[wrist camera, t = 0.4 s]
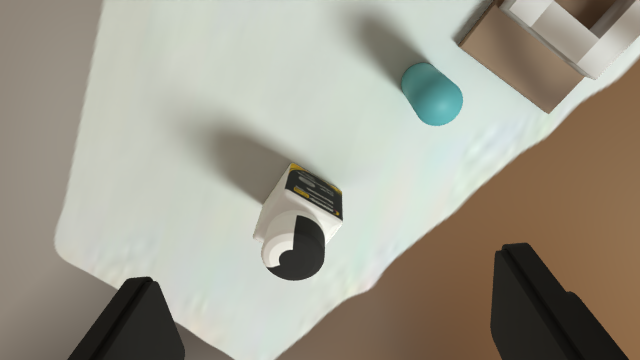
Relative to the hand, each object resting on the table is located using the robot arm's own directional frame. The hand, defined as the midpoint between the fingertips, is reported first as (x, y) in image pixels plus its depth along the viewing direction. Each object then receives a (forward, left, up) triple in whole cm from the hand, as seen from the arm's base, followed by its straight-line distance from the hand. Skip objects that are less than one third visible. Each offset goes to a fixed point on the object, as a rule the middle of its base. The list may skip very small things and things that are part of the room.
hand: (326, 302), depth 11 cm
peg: (-1, +9, -33) cm, 34 cm away
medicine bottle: (+15, -1, -33) cm, 37 cm away
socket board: (-12, +21, -33) cm, 41 cm away
